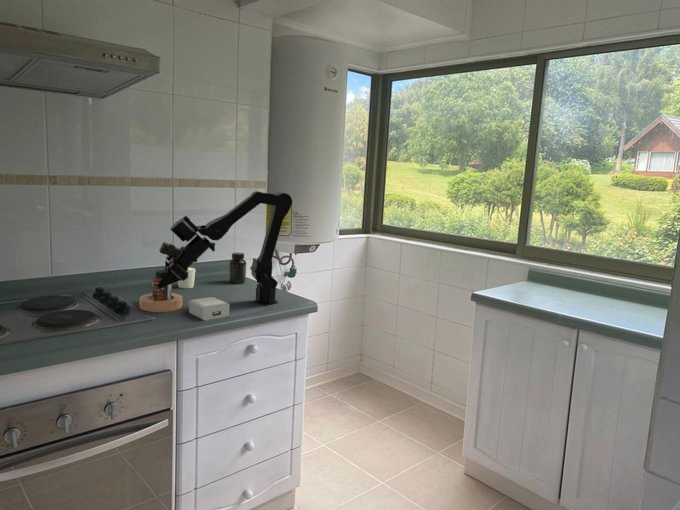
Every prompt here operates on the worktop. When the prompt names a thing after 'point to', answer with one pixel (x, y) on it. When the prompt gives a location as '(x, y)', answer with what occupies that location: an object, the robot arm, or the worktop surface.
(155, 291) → the supplement bottle
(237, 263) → the supplement bottle
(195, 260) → the robot arm
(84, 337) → the worktop surface
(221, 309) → the charger
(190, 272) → the white tapered cylinder
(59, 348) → the worktop surface
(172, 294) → the collar
